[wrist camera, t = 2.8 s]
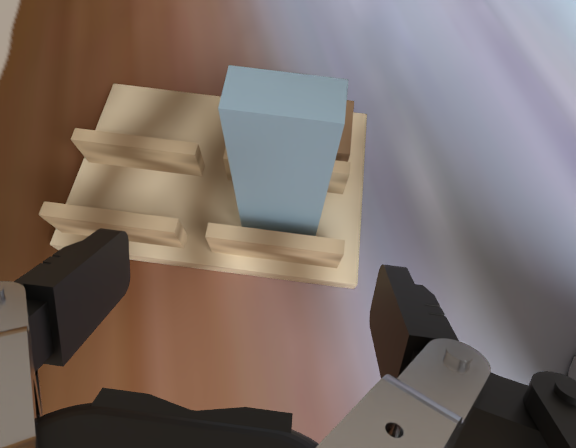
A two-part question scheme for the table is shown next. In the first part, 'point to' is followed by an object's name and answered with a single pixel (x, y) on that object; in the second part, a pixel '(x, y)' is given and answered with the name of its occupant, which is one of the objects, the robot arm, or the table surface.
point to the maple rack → (197, 194)
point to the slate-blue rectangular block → (281, 144)
